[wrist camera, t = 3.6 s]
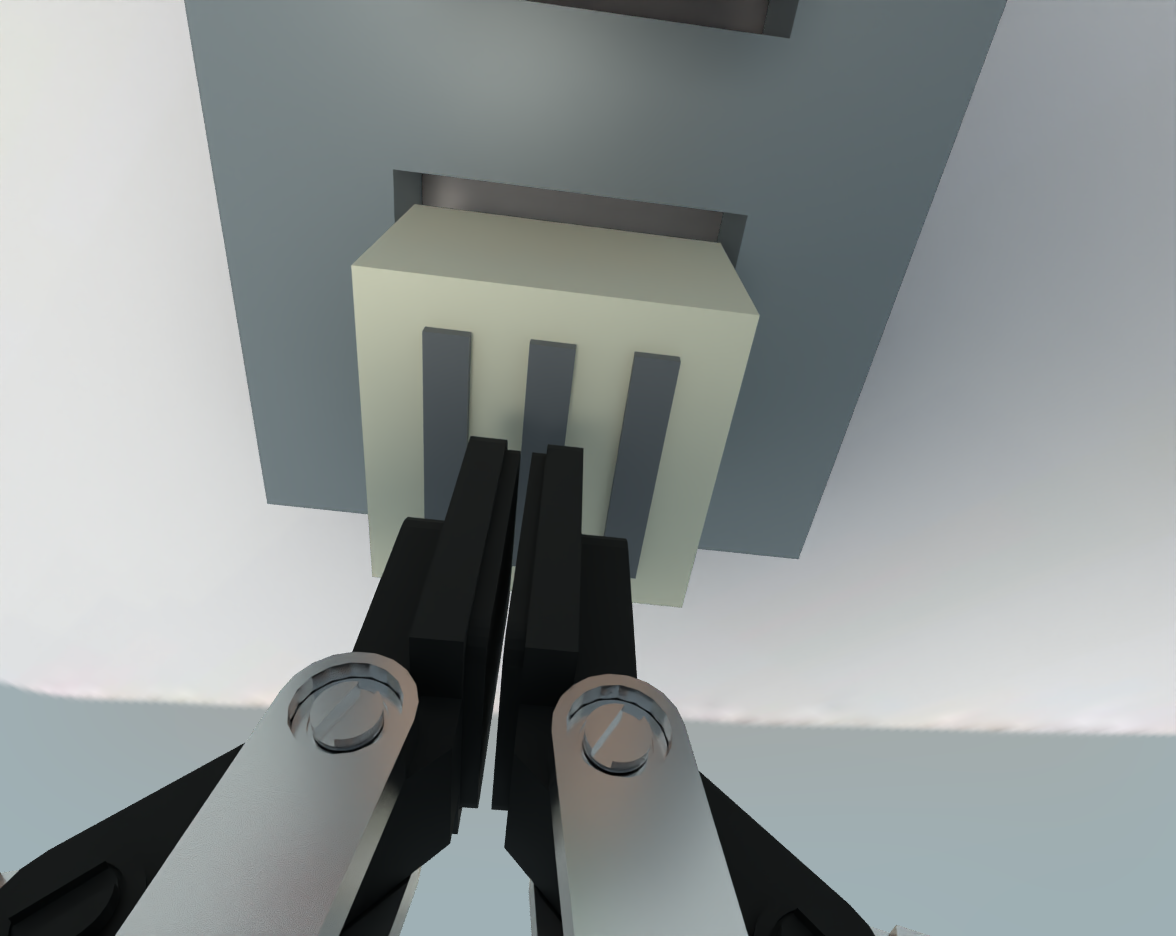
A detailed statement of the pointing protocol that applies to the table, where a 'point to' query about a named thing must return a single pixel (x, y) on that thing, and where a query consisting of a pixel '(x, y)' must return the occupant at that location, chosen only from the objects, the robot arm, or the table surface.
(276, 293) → the board
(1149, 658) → the table surface
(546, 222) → the tile three
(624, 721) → the robot arm
